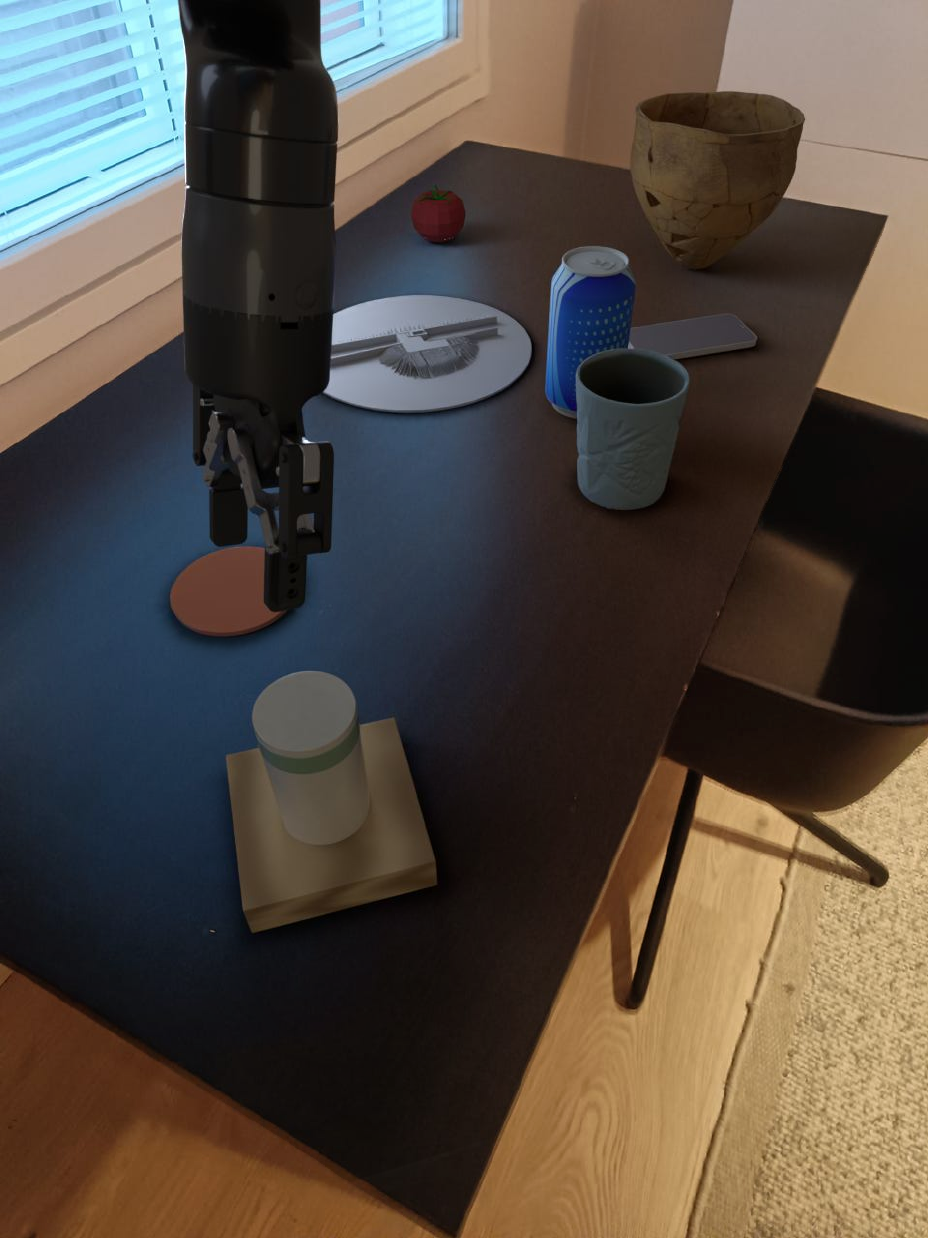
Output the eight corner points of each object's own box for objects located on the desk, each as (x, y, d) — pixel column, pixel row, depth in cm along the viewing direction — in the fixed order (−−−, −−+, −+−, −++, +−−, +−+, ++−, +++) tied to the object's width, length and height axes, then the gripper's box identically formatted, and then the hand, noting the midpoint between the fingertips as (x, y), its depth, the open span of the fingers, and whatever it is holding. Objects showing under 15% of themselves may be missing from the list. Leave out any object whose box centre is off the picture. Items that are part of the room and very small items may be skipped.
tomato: (403, 234, 132) (400, 180, 127) (450, 224, 135) (449, 170, 130) (426, 254, 127) (424, 198, 122) (475, 243, 130) (475, 188, 124)
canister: (285, 856, 56) (257, 762, 49) (273, 779, 61) (245, 682, 53) (380, 833, 57) (365, 737, 50) (361, 758, 62) (346, 660, 55)
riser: (251, 933, 56) (242, 911, 54) (234, 780, 64) (225, 755, 62) (437, 885, 58) (435, 861, 56) (397, 742, 66) (394, 717, 64)
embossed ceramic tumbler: (668, 520, 84) (689, 409, 76) (561, 509, 86) (570, 399, 77) (671, 458, 91) (690, 350, 83) (572, 449, 93) (581, 342, 84)
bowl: (587, 266, 124) (601, 105, 110) (679, 225, 133) (702, 73, 119) (710, 317, 113) (743, 145, 99) (800, 269, 122) (842, 106, 108)
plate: (487, 284, 120) (487, 275, 119) (567, 387, 101) (568, 377, 101) (280, 316, 115) (279, 307, 114) (324, 432, 96) (323, 422, 95)
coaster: (174, 648, 73) (172, 644, 73) (168, 563, 81) (167, 559, 81) (307, 621, 75) (306, 617, 75) (289, 540, 83) (289, 536, 83)
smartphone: (618, 329, 109) (732, 312, 111) (618, 336, 110) (730, 319, 112) (642, 358, 104) (760, 339, 106) (641, 366, 105) (759, 347, 107)
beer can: (558, 428, 96) (568, 282, 84) (535, 388, 101) (542, 247, 90) (632, 417, 97) (652, 272, 86) (605, 378, 103) (620, 238, 91)
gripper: (142, 260, 48) (154, 533, 56) (241, 328, 39) (239, 646, 47) (272, 264, 52) (266, 518, 60) (393, 327, 43) (366, 619, 51)
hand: (255, 573), depth 53 cm, fingers open, 8 cm apart
